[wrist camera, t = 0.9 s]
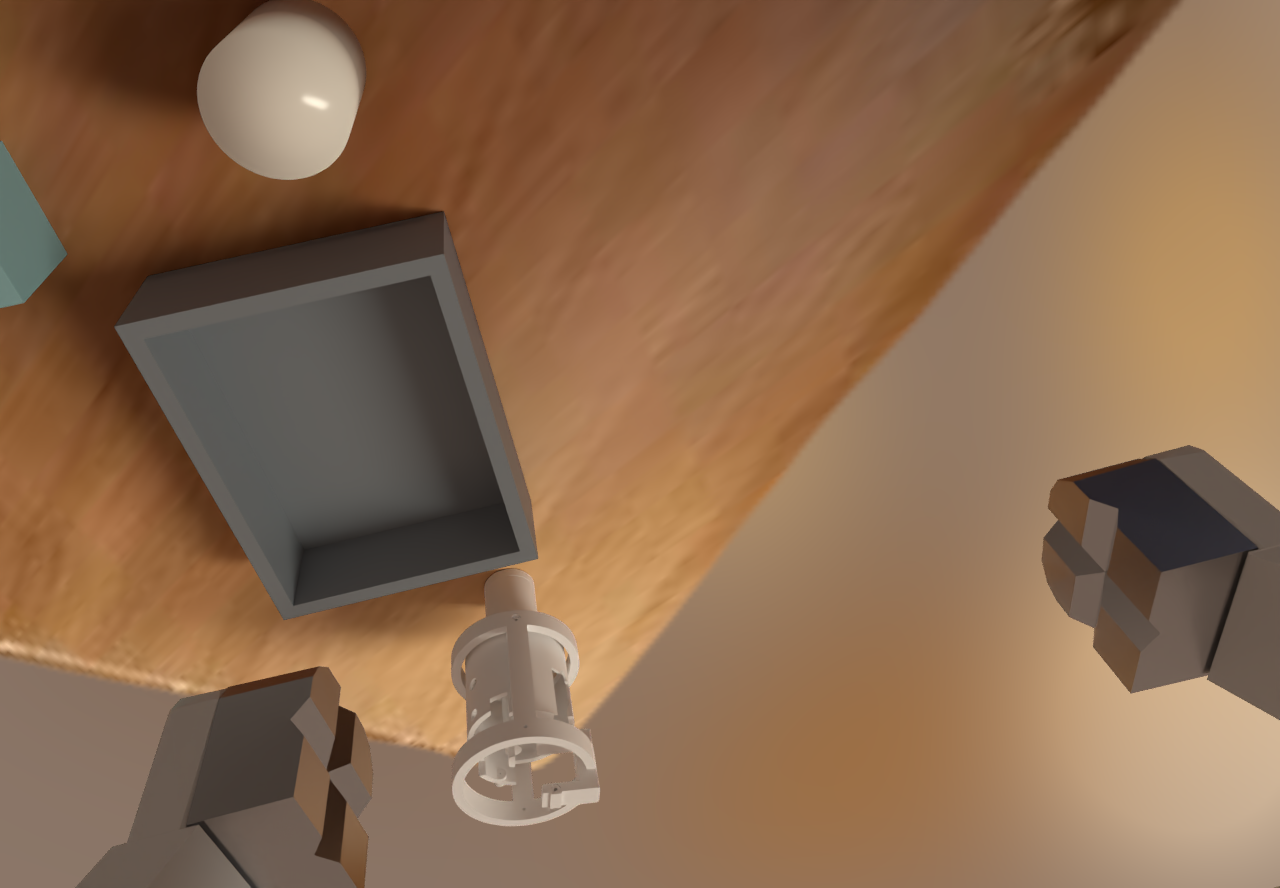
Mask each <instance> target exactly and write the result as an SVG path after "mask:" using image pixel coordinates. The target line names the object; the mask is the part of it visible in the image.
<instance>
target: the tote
mask: <svg viewBox="0 0 1280 888" xmlns="http://www.w3.org/2000/svg"><path fill="white" fill-rule="evenodd" d="M114 327H115V329H116V331H117V333H118V334H119V336H120V338H121V339H122V341H123V343H124V345H125V346H126V348H127V350H128V352H129V353H130V355H131V357H132V358H133V360H134V362H135V364H136V365H137V367H138V369H139V371H140V372H141V374H142V376H143V377H144V379H145V381H146V383H147V384H148V386H149V388H150V390H151V391H152V393H153V395H154V396H155V398H156V400H157V402H158V403H159V405H160V407H161V409H162V410H163V412H164V414H165V416H166V417H167V419H168V421H169V422H170V424H171V426H172V428H173V429H174V431H175V433H176V435H177V436H178V438H179V440H180V441H181V443H182V445H183V447H184V448H185V450H186V452H187V454H188V455H189V457H190V459H191V460H192V462H193V464H194V466H195V467H196V469H197V471H198V473H199V474H200V476H201V478H202V479H203V481H204V483H205V485H206V486H207V488H208V490H209V492H210V493H211V495H212V497H213V498H214V500H215V502H216V504H217V505H218V507H219V509H220V511H221V512H222V514H223V516H224V517H225V519H226V521H227V523H228V524H229V526H230V528H231V530H232V531H233V533H234V535H235V536H236V538H237V540H238V542H239V543H240V545H241V547H242V549H243V550H244V552H245V554H246V555H247V557H248V559H249V561H250V562H251V564H252V566H253V568H254V569H255V571H256V573H257V574H258V576H259V578H260V580H261V581H262V583H263V585H264V587H265V588H266V590H267V592H268V593H269V595H270V597H271V599H272V600H273V602H274V604H275V606H276V607H277V609H278V611H279V613H280V614H281V616H282V618H283V619H284V620H287V619H291V618H295V617H299V616H303V615H307V614H311V613H316V612H320V611H324V610H328V609H332V608H336V607H340V606H345V605H349V604H353V603H357V602H361V601H365V600H369V599H373V598H378V597H382V596H386V595H390V594H394V593H398V592H402V591H407V590H411V589H415V588H419V587H423V586H427V585H431V584H436V583H440V582H444V581H448V580H452V579H456V578H460V577H465V576H469V575H473V574H477V573H481V572H485V571H489V570H494V569H498V568H502V567H506V566H510V565H514V564H518V563H523V562H527V561H531V560H535V559H538V553H537V545H536V537H535V529H534V521H533V513H532V505H531V499H530V496H529V493H528V489H527V486H526V483H525V479H524V476H523V473H522V469H521V466H520V463H519V459H518V456H517V453H516V449H515V446H514V443H513V440H512V436H511V433H510V430H509V426H508V423H507V420H506V416H505V413H504V410H503V406H502V403H501V400H500V396H499V393H498V390H497V386H496V383H495V380H494V376H493V373H492V370H491V366H490V363H489V360H488V356H487V353H486V350H485V346H484V343H483V340H482V336H481V333H480V330H479V326H478V323H477V320H476V316H475V313H474V310H473V307H472V303H471V300H470V297H469V293H468V290H467V287H466V283H465V280H464V277H463V273H462V270H461V267H460V263H459V260H458V257H457V253H456V250H455V247H454V243H453V240H452V237H451V233H450V230H449V227H448V223H447V220H446V217H445V213H444V211H443V212H439V213H434V214H430V215H425V216H421V217H416V218H411V219H407V220H402V221H398V222H393V223H389V224H384V225H379V226H375V227H370V228H366V229H361V230H357V231H352V232H347V233H343V234H338V235H334V236H329V237H325V238H320V239H315V240H311V241H306V242H302V243H297V244H293V245H288V246H283V247H279V248H274V249H270V250H265V251H261V252H256V253H251V254H247V255H242V256H238V257H233V258H229V259H224V260H219V261H215V262H210V263H206V264H201V265H197V266H192V267H187V268H183V269H178V270H174V271H169V272H165V273H160V274H155V275H151V276H147V278H146V279H145V281H144V282H143V284H142V285H141V287H140V288H139V290H138V291H137V293H136V294H135V296H134V297H133V299H132V301H131V302H130V304H129V305H128V307H127V308H126V310H125V311H124V313H123V314H122V316H121V317H120V319H119V320H118V322H117V323H116V325H115V326H114Z"/></svg>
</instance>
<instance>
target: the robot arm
mask: <svg viewBox="0 0 1280 888" xmlns="http://www.w3.org/2000/svg"><path fill="white" fill-rule="evenodd" d="M1048 509H1049V510H1050V511H1051V512H1052V513H1053V514H1054V516H1055V517H1056V518H1057V519H1058V521H1057V522H1056V523H1055V525H1054V526H1053V527H1052V528H1051V529H1050V531H1049V532H1048V533H1047V534H1046V536H1045V537H1044V539H1043V540H1044V541H1043V551H1042V563H1043V567H1044V571H1045V575H1046V579H1047V583H1048V585H1049V587H1050V589H1051V591H1052V593H1053V595H1054V597H1055V598H1056V600H1057V602H1058V603H1059V604H1060V606H1061V607H1062V608H1063V609H1064V611H1065V612H1066V613H1067V615H1068V616H1069V617H1071V618H1073V619H1075V620H1077V621H1080V622H1082V623H1084V624H1086V625H1089V626H1091V627H1093V628H1094V640H1093V647H1094V649H1095V650H1096V651H1097V652H1098V654H1099V655H1100V656H1101V657H1102V658H1103V660H1104V661H1105V662H1106V663H1107V665H1108V666H1109V667H1110V668H1111V669H1112V671H1113V672H1114V673H1115V675H1116V676H1117V677H1118V678H1119V679H1120V681H1121V682H1122V683H1123V684H1124V686H1125V687H1126V688H1127V689H1128V691H1129V692H1130V693H1135V692H1139V691H1143V690H1148V689H1152V688H1156V687H1160V686H1164V685H1169V684H1173V683H1177V682H1181V681H1185V680H1190V679H1194V678H1198V677H1203V676H1207V675H1208V678H1207V680H1209V681H1211V682H1213V683H1215V684H1216V685H1218V686H1220V687H1222V688H1223V689H1225V690H1227V691H1229V692H1231V693H1232V694H1234V695H1236V696H1238V697H1239V698H1241V699H1243V700H1245V701H1247V702H1248V703H1250V704H1252V705H1254V706H1256V707H1257V708H1259V709H1261V710H1263V711H1264V712H1266V713H1268V714H1270V715H1272V716H1273V717H1275V718H1277V719H1279V720H1280V511H1279V510H1277V509H1276V508H1275V507H1274V506H1272V505H1271V504H1270V503H1269V502H1267V501H1266V500H1265V499H1264V498H1263V497H1261V496H1260V495H1259V494H1258V493H1256V492H1255V491H1253V489H1251V488H1250V487H1249V486H1247V485H1246V484H1245V483H1244V482H1243V481H1241V480H1240V479H1239V478H1238V477H1236V476H1235V475H1234V474H1233V473H1231V472H1230V471H1229V470H1228V469H1226V468H1225V467H1224V466H1223V465H1221V464H1220V463H1219V462H1218V461H1217V460H1215V459H1214V458H1213V457H1212V456H1210V455H1209V454H1208V453H1206V452H1205V451H1204V450H1202V449H1199V448H1196V447H1193V446H1190V445H1188V446H1184V447H1180V448H1177V449H1173V450H1169V451H1165V452H1161V453H1158V454H1154V455H1150V456H1146V457H1144V458H1143V459H1135V460H1131V461H1128V462H1124V463H1120V464H1116V465H1112V466H1108V467H1105V468H1101V469H1097V470H1093V471H1090V472H1086V473H1082V474H1078V475H1074V476H1071V477H1067V478H1063V479H1059V480H1057V482H1056V483H1055V485H1054V486H1053V488H1052V489H1051V491H1050V498H1049V504H1048ZM340 689H341V687H340V685H339V683H338V682H337V680H336V679H335V677H334V676H333V674H332V672H331V671H330V669H329V668H328V667H320V666H319V667H315V668H310V669H306V670H301V671H297V672H293V673H288V674H284V675H279V676H275V677H271V678H266V679H262V680H257V681H253V682H248V683H244V684H240V685H235V686H231V687H228V688H227V689H222V690H218V691H213V692H209V693H204V694H200V695H195V696H191V697H186V698H182V699H180V700H179V701H178V702H177V703H176V704H175V706H174V707H173V708H172V709H171V710H170V712H169V714H168V717H167V720H166V723H165V726H164V730H163V733H162V736H161V739H160V742H159V745H158V748H157V751H156V755H155V758H154V761H153V764H152V767H151V770H150V773H149V776H148V780H147V782H146V786H145V789H144V792H143V795H142V798H141V801H140V804H139V808H138V811H137V814H136V817H135V820H134V823H133V826H132V829H131V832H130V836H129V838H128V842H127V843H124V844H121V845H117V846H114V847H112V848H111V849H110V850H109V851H108V852H107V853H106V854H105V855H104V856H103V858H102V859H101V860H100V861H99V862H98V863H97V864H96V865H95V866H94V868H93V869H92V870H91V871H90V872H89V873H88V874H87V875H86V876H85V878H84V879H83V880H82V881H81V882H80V883H79V884H78V885H77V886H76V887H75V888H364V886H365V874H366V862H367V849H368V838H369V837H368V835H367V833H366V832H365V830H364V829H363V827H362V825H361V824H360V822H359V820H358V819H357V818H358V817H359V816H360V814H361V813H362V811H363V810H364V808H365V807H366V805H367V804H368V803H369V801H370V800H371V798H372V784H373V769H372V761H371V753H370V746H369V743H368V740H367V737H366V734H365V731H364V728H363V726H362V724H361V722H360V720H359V718H358V717H357V715H356V713H354V712H352V711H350V710H347V709H345V708H343V707H340V706H339V698H340ZM1275 888H1280V886H1279V887H1275Z"/></svg>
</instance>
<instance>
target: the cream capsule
mask: <svg viewBox="0 0 1280 888" xmlns="http://www.w3.org/2000/svg"><path fill="white" fill-rule="evenodd" d="M365 82H366V64H365V58H364V54H363V51H362V48H361V46H360V43H359V41H358V39H357V38H356V36H355V34H354V33H353V31H352V30H351V28H350V27H349V26H348V25H347V24H346V22H345V21H344V20H343V19H342V18H341V17H339V16H338V15H337V14H336V13H335V12H333V11H332V10H330V9H329V8H327V7H325V6H324V5H322V4H320V3H317V2H315V1H312V0H270V1H268V2H265V3H263V4H262V5H260V6H259V7H257V8H256V9H255V10H254V11H253V12H252V13H251V14H249V15H248V16H247V17H246V18H245V19H244V20H243V21H242V22H241V23H240V24H239V25H238V26H237V27H236V28H235V29H234V30H233V31H231V32H230V33H229V34H228V35H227V36H226V37H225V38H224V39H223V40H222V41H221V42H220V43H219V44H218V45H217V46H216V47H215V48H214V49H212V51H211V52H210V53H209V55H208V56H207V57H206V59H205V61H204V63H203V65H202V67H201V70H200V73H199V78H198V83H197V98H198V106H199V110H200V114H201V117H202V119H203V122H204V124H205V126H206V128H207V130H208V132H209V134H210V135H211V137H212V138H213V140H214V141H215V142H216V144H217V145H218V146H219V147H220V148H221V150H222V151H224V152H225V153H226V154H227V155H228V156H229V157H230V158H231V159H233V160H234V161H235V162H236V163H238V164H239V165H241V166H243V167H244V168H246V169H248V170H250V171H252V172H254V173H257V174H259V175H262V176H265V177H270V178H274V179H283V180H295V179H301V178H306V177H309V176H313V175H315V174H317V173H319V172H321V171H323V170H324V169H326V168H328V167H329V166H330V165H331V164H332V163H333V162H335V160H336V159H337V158H338V157H339V156H340V154H341V153H342V151H343V150H344V148H345V146H346V143H347V141H348V139H349V135H350V132H351V129H352V126H353V123H354V120H355V116H356V113H357V110H358V107H359V104H360V101H361V97H362V94H363V91H364V87H365Z"/></svg>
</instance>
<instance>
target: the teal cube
mask: <svg viewBox="0 0 1280 888" xmlns="http://www.w3.org/2000/svg"><path fill="white" fill-rule="evenodd" d="M66 255H67V252H66V251H65V249H64V247H63V245H62V244H61V242H60V240H59V239H58V237H57V235H56V233H55V232H54V230H53V228H52V226H51V225H50V223H49V221H48V220H47V218H46V216H45V214H44V213H43V211H42V209H41V208H40V206H39V204H38V202H37V201H36V199H35V197H34V195H33V194H32V192H31V190H30V189H29V187H28V185H27V183H26V182H25V180H24V178H23V177H22V175H21V173H20V171H19V170H18V168H17V166H16V164H15V163H14V161H13V159H12V158H11V156H10V154H9V152H8V151H7V149H6V147H5V146H4V144H3V142H2V141H0V308H3V307H7V306H12V305H17V304H21V303H25V301H26V300H27V299H28V298H29V297H30V296H31V295H32V294H33V292H34V291H35V290H36V289H37V288H38V287H39V286H40V285H41V283H42V282H43V281H44V280H45V279H46V278H47V277H48V276H49V275H50V273H51V272H52V271H53V270H54V269H55V268H56V267H57V266H58V264H59V263H60V262H61V261H62V260H63V259H64V258H65V257H66Z"/></svg>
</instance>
